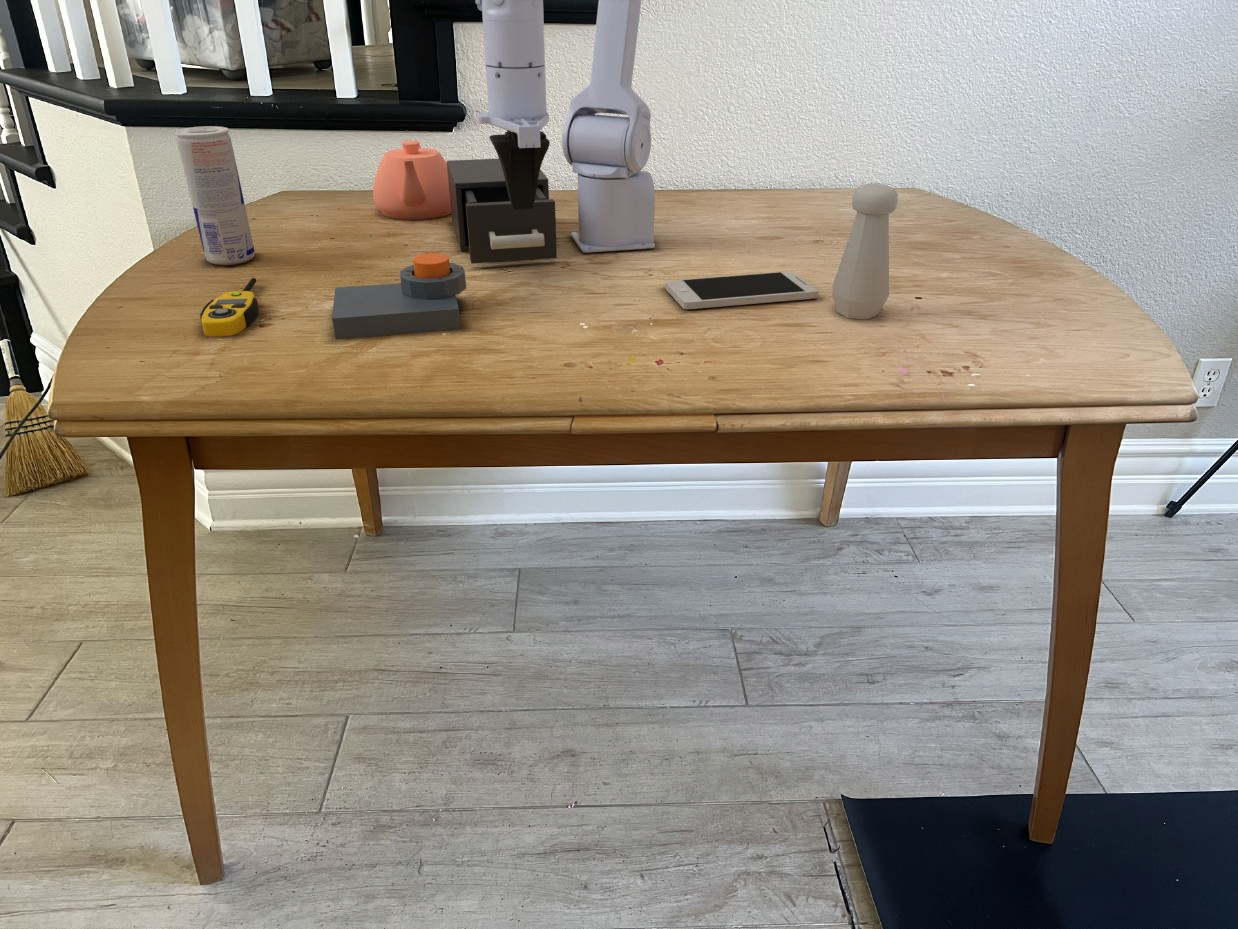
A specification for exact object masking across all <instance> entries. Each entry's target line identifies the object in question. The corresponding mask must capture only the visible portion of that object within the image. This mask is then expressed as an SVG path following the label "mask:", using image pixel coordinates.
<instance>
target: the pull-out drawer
mask: <svg viewBox="0 0 1238 929" xmlns="http://www.w3.org/2000/svg"><path fill="white" fill-rule="evenodd" d="M463 199H464V211H465V223H466V233H467V236H468V239H469V251H468V252H469V261H470V264H471V265H474V264H487V263H488V264H489V263H503V262H515V261H516V262H517V261H533V260H547V259H557V257H558V255H557V252H558V251H557V250H558V249H557V223H556V222H557V221H556V218H557V217H556V200H554V198H549V199H546V197H545V196H544V194H543V193H542V191H541V190H540V189H539V187H538V186H537V190H536V196H535V202H534V206H533V209H518V210H514V209H513V207H512V205H511V202H510V199H509V195H508V191H507V187H488V188H467V189H463Z"/></svg>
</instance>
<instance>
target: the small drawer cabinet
mask: <svg viewBox="0 0 1238 929" xmlns="http://www.w3.org/2000/svg"><path fill="white" fill-rule="evenodd" d="M446 163H447V172H448V183H449V194H450V205H451V213H450V215H451V224H452V228H453V231H454V234H455V237H456V240H457V244H458V247H459V250H460V252H461V253H465V252H466V253H467V252H470V251H469V239H468V236H467V233H466V223H465V211H464V199H463V189H467V188H488V187H507V186H506V182H505V177H504V173H503V169H502V166H501V163H500V160H499V158H478V159H476V158H475V159H456V160H454V159H453V160H452V159H451V160H446ZM537 186H538V187H539V189H540V190H541V191H542V193H543V194H544V196H545V197H546V199H550V186H549V178H548V177H547V176H546V174H545V173H544V172H543V170H542V168H540V172H539V177H538V183H537Z"/></svg>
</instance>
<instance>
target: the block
mask: <svg viewBox="0 0 1238 929" xmlns="http://www.w3.org/2000/svg"><path fill="white" fill-rule="evenodd" d="M449 266H450V274H449V275H447V276H444V277H440V278H419V277H416V276H415V273H414V264H411V265H407V266H405V267H404V268H403V269H401V270H399V277H400V282H398V283H397V282H396V283H384V284H383V283H382V284H368V285H354V286H352V285H351V286H340V287H335V288H334V295H333V304H332V305H333V306H332V315H331V321H332V326H333V332H334V338H335V340H342V339H343V340H344V339H345V340H346V339H354V338H368V337H369V338H370V337H379V336H391V335H404V334H416V333H417V334H418V333H428V332H438V331H439V332H440V331H452V330H461V329H462V328H461V326H462V325H461V317H460V308H459V303H458V300H457V295H460V294H461V293H462V292H463V291H465V290H466V289H467V280H466V271H465V267H464V266H462V265H459V264H457V263H454V262H449Z"/></svg>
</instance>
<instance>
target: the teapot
mask: <svg viewBox="0 0 1238 929" xmlns="http://www.w3.org/2000/svg"><path fill="white" fill-rule="evenodd" d="M420 144H421V143H420V141H418V140H405V141H403V142H401V146H402V148H397V149H392V150H388V151H386V152H385V153H384V155H383V156H382V158H381V160H380V162H379V165H378V168H377V170H376V173H375V176H374V181H373V190H372V198H373V203H374V206H375V207H376V208H377V209H378V210H379V212H380V213H381V214H382V215H383V216H385V217H387V218H390V219H395V220H396V219H397V220H398V219H399V220H427V219H436V218H441V217H445V216H448V215H451V205H450V194H449V183H448V172H447V160H446V159H445V158H444V156H443V155H442V154H441V152H440V151H439V150H437V149H434V148H426V147H422V146H421V145H420Z"/></svg>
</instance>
